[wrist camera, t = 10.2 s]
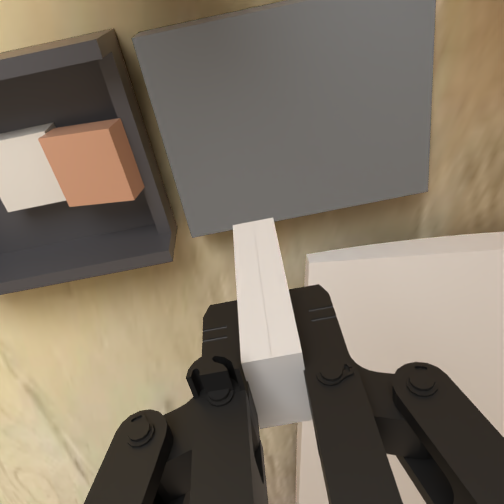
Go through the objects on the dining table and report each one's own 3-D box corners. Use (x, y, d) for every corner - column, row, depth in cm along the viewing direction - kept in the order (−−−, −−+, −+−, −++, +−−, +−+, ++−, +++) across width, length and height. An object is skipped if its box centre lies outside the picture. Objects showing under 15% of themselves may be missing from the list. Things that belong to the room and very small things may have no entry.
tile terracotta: (53, 128, 30) (37, 138, 28) (120, 117, 29) (108, 128, 27) (82, 193, 33) (69, 207, 31) (144, 186, 32) (134, 200, 30)
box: (-138, 82, 29) (-198, 102, 25) (113, 28, 28) (96, 39, 24) (-21, 266, 37) (-50, 304, 33) (177, 227, 36) (172, 261, 32)
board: (299, 232, 38) (309, 263, 34) (657, 208, 39) (707, 235, 35) (291, 506, 62) (296, 543, 58) (512, 486, 64) (532, 520, 60)
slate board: (138, 32, 28) (131, 38, 26) (416, -28, 28) (437, -28, 25) (193, 218, 36) (192, 237, 34) (412, 175, 35) (427, 191, 33)
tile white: (-16, 136, 31) (-29, 146, 29) (53, 122, 31) (44, 131, 29) (18, 200, 34) (8, 212, 32) (81, 187, 33) (74, 198, 32)
